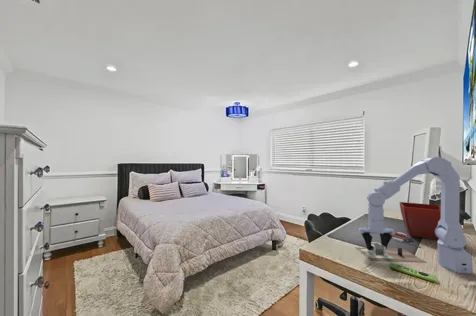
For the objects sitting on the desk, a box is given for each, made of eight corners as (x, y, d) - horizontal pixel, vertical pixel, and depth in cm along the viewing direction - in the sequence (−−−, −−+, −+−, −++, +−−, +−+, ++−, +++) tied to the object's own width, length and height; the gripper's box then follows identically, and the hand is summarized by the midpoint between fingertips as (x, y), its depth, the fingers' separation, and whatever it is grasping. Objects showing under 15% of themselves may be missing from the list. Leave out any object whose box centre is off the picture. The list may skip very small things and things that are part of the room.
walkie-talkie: (378, 237, 119) (419, 251, 101) (378, 229, 120) (419, 241, 101) (388, 235, 123) (430, 248, 104) (388, 227, 123) (430, 239, 104)
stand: (427, 265, 86) (427, 255, 86) (371, 263, 88) (371, 253, 88) (403, 250, 100) (402, 242, 100) (354, 249, 102) (354, 241, 102)
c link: (385, 256, 92) (385, 246, 92) (373, 255, 92) (373, 246, 92) (378, 251, 97) (378, 242, 97) (367, 251, 97) (367, 242, 97)
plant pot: (439, 233, 126) (439, 204, 126) (451, 243, 109) (450, 210, 110) (399, 228, 135) (399, 201, 136) (404, 237, 119) (404, 206, 119)
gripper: (387, 217, 98) (387, 246, 98) (354, 216, 99) (355, 245, 99) (397, 221, 91) (398, 253, 91) (362, 220, 92) (362, 252, 92)
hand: (376, 249), depth 94 cm, fingers open, 6 cm apart
